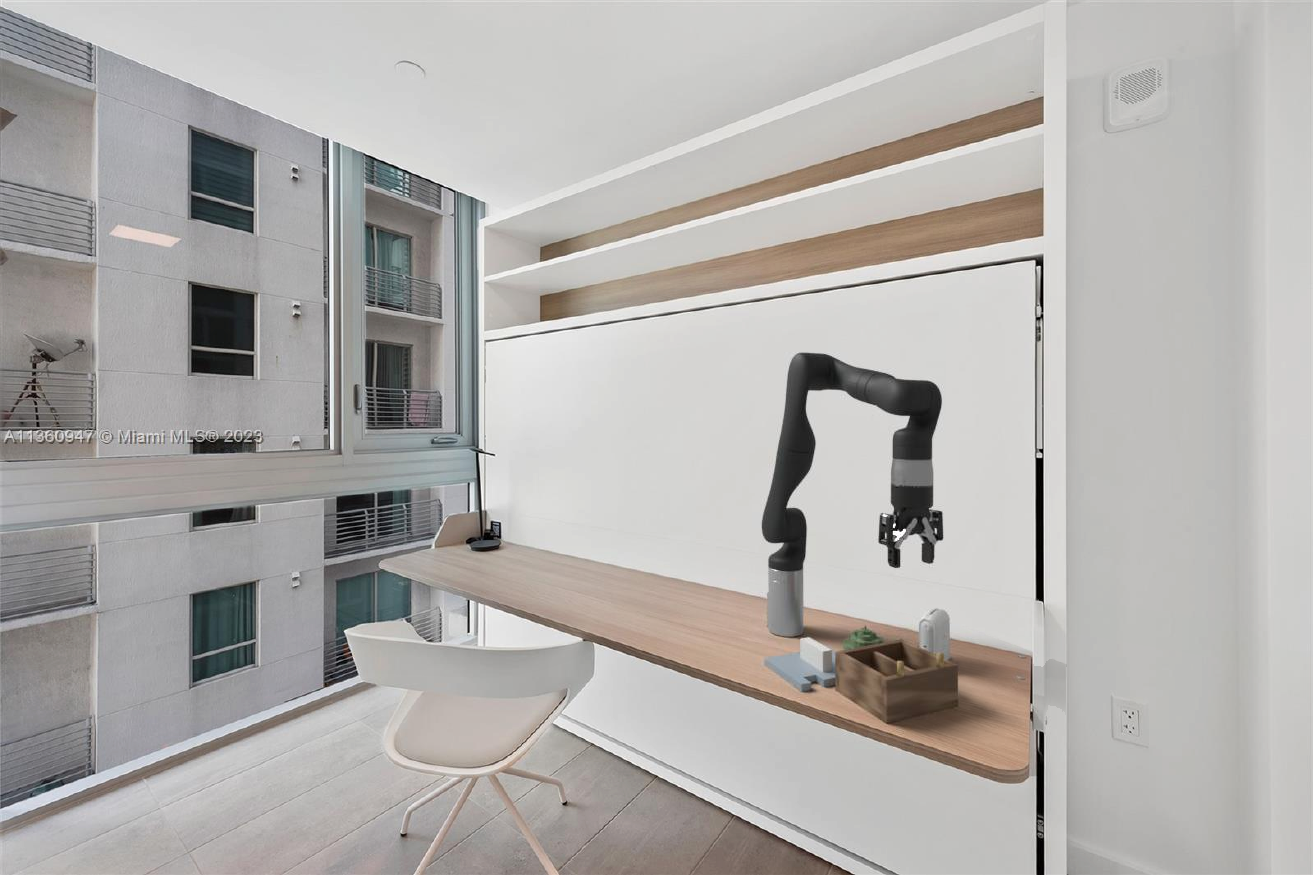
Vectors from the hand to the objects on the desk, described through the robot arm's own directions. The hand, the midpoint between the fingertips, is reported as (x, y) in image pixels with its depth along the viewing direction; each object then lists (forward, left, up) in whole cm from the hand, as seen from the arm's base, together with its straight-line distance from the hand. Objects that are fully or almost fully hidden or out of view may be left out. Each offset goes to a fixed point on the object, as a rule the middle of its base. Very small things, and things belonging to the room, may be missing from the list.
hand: (911, 564), depth 104 cm
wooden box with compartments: (-4, -1, -28) cm, 28 cm away
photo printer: (-13, +20, -28) cm, 37 cm away
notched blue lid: (-20, -8, -28) cm, 35 cm away
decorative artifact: (-23, +9, -28) cm, 37 cm away
